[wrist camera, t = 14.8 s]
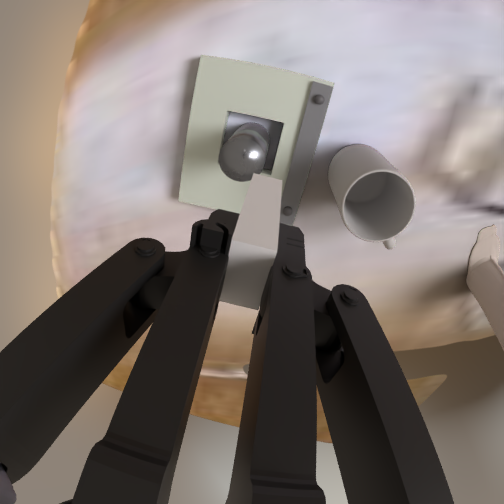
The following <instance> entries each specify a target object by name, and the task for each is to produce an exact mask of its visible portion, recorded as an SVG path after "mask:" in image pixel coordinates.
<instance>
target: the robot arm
mask: <svg viewBox="0 0 504 504" xmlns="http://www.w3.org/2000/svg"><path fill="white" fill-rule="evenodd" d="M281 193H282V180H279V179H275V178H271V177H267V176H263V175H259V174H255V173H253V176H252V179H251V182H250V185H249V188H248V191H247V194H246V197H245V200H244V203H243V206H242V209H241V212H240V214H239V213H234V212H230V211H226V210H222V209H218V210H216V211H214V212H212V213H211V215H210V217H209V219H207V220H200V221H197V222H195V223H194V224H193V225H192V233H191V241H190V247H189V249H188V250H186V251H181V252H165V247H164V245H163V244H162V243H161V242H159V241H158V240H155V239H152V238H139V239H135V240H133V241H131V242H129V243H128V244H127V245H125V246H124V247H123V248H121V249H120V250H119V251H117V252H116V253H115V254H114V255H112V256H111V257H110V258H108V259H107V260H106V261H105V262H103V263H102V264H101V265H100V266H98V267H97V268H96V269H94V270H93V271H92V272H91V273H89V274H88V275H87V276H86V277H85V278H83V279H82V280H81V281H80V282H78V283H77V284H76V285H75V286H74V287H72V288H71V289H70V290H69V291H68V292H66V293H65V294H64V295H63V296H62V297H61V298H59V299H58V300H57V301H56V302H55V303H54V304H52V305H51V306H50V307H49V308H48V309H47V310H46V311H44V312H43V313H42V314H41V315H40V316H39V317H38V318H36V320H34V321H33V322H32V323H31V324H30V325H29V326H28V327H27V328H25V329H24V330H23V331H22V332H21V333H20V334H19V335H18V336H17V337H16V338H15V339H14V340H13V341H12V342H11V343H9V344H8V345H7V346H6V347H5V348H4V349H3V350H2V351H1V352H0V504H14V503H15V502H16V493H15V491H14V490H13V486H12V484H13V483H15V482H16V481H18V480H20V479H21V478H22V477H23V476H24V475H25V474H27V473H28V472H29V471H30V470H31V469H32V468H33V467H34V466H35V465H36V463H37V462H38V461H39V460H40V459H41V458H42V456H43V455H44V454H45V453H46V451H47V450H48V449H49V447H50V446H51V445H52V444H53V442H54V441H55V440H56V439H57V437H58V436H59V435H60V433H61V432H62V431H63V430H64V428H65V427H66V426H67V425H68V423H69V422H70V421H71V420H72V418H73V417H74V416H75V415H76V413H77V412H78V411H79V410H80V409H81V407H82V406H83V405H84V404H85V402H86V401H87V400H88V399H89V398H90V396H91V395H92V394H93V393H94V391H95V390H96V389H97V388H98V387H99V385H100V384H101V383H102V382H103V381H104V379H105V378H106V377H107V376H108V375H109V373H110V372H111V371H112V370H113V369H114V367H115V366H116V365H117V364H118V363H119V362H120V360H121V359H122V358H123V357H124V356H125V354H126V353H127V352H128V351H129V350H130V349H131V347H132V346H133V345H134V344H135V343H136V341H137V340H138V339H139V338H140V337H141V336H142V334H143V333H144V332H145V331H146V330H147V329H148V327H149V326H150V325H151V324H152V323H153V324H152V326H151V328H150V330H149V332H148V335H147V337H146V339H145V341H144V344H143V346H142V348H141V350H140V353H139V355H138V357H137V360H136V362H135V364H134V366H133V369H132V371H131V374H130V376H129V378H128V381H127V383H126V385H125V388H124V390H123V393H122V395H121V398H120V400H119V403H118V405H117V408H116V410H115V412H114V415H113V417H112V420H111V423H110V425H109V428H108V430H107V433H106V435H105V437H104V438H103V439H102V440H100V441H99V442H97V443H96V444H95V445H94V447H93V448H92V449H91V451H90V453H89V456H88V458H87V461H86V463H85V466H84V469H83V471H82V474H81V477H80V480H79V483H78V486H77V489H76V492H75V494H74V497H73V499H71V500H68V501H65V502H62V503H60V504H168V501H169V496H170V491H171V485H172V481H173V476H174V472H175V468H176V464H177V460H178V456H179V452H180V448H181V444H182V440H183V437H184V433H185V429H186V425H187V421H188V417H189V413H190V409H191V406H192V402H193V398H194V394H195V390H196V387H197V383H198V379H199V375H200V372H201V368H202V364H203V360H204V357H205V353H206V349H207V346H208V342H209V338H210V335H211V331H212V327H213V324H214V320H215V316H216V313H217V308H218V303H219V301H222V302H226V303H230V304H234V305H239V306H243V307H247V308H251V309H256V310H258V309H259V306H260V310H259V313H258V316H257V319H256V322H255V325H254V328H253V331H252V334H254V338H253V344H252V351H251V358H250V364H249V371H248V378H247V384H246V390H245V397H244V403H243V410H242V416H241V422H240V429H239V435H238V441H237V447H236V454H235V459H234V466H233V472H232V478H231V484H230V490H229V494H228V498H227V501H226V503H225V504H326V499H325V495H324V492H323V490H322V489H321V488H320V487H319V486H318V485H317V482H316V441H317V392H316V385H317V388H318V392H319V395H320V399H321V402H322V406H323V410H324V413H325V417H326V420H327V424H328V428H329V431H330V435H331V439H332V442H333V446H334V450H335V454H336V457H337V461H338V465H339V468H340V472H341V476H342V480H343V484H344V488H345V492H346V496H347V500H348V504H454V502H453V499H452V495H451V493H450V489H449V486H448V483H447V480H446V477H445V475H444V472H443V469H442V466H441V463H440V461H439V458H438V455H437V453H436V450H435V447H434V445H433V442H432V440H431V437H430V435H429V432H428V429H427V427H426V425H425V422H424V420H423V417H422V415H421V412H420V410H419V408H418V405H417V403H416V401H415V398H414V396H413V394H412V392H411V389H410V387H409V385H408V383H407V380H406V378H405V376H404V374H403V372H402V369H401V367H400V365H399V363H398V361H397V359H396V357H395V355H394V353H393V350H392V348H391V346H390V344H389V342H388V340H387V338H386V336H385V334H384V332H383V330H382V328H381V326H380V324H379V322H378V320H377V318H376V316H375V314H374V312H373V310H372V309H371V307H370V305H369V303H368V301H367V299H366V297H365V296H364V295H363V294H362V293H361V292H360V291H359V290H358V289H356V288H354V287H352V286H349V285H344V284H341V285H336V286H335V287H333V289H332V291H330V290H328V289H326V288H324V287H322V286H320V285H318V284H316V283H315V282H314V281H313V280H312V275H311V272H310V270H309V269H308V268H307V267H306V263H305V249H304V248H305V246H304V234H303V233H302V232H301V230H300V229H299V228H298V227H294V226H290V225H286V224H283V223H279V222H280V208H281Z"/></svg>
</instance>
